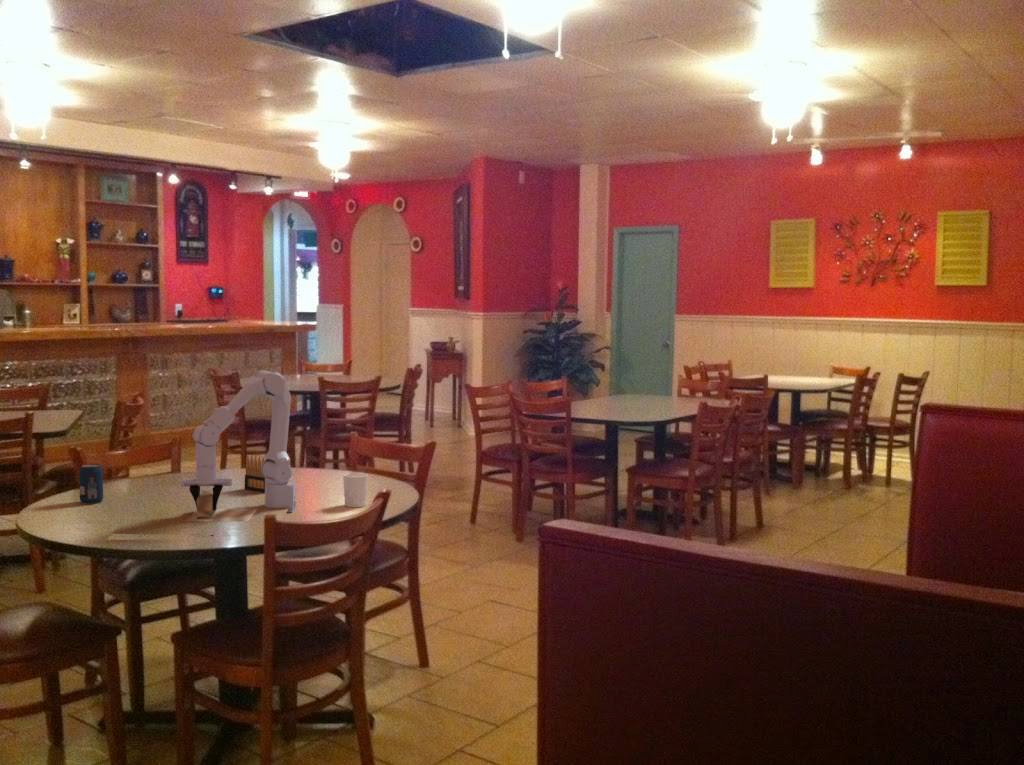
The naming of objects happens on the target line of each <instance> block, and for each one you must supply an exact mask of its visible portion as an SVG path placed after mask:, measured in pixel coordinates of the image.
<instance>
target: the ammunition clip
mask: <svg viewBox="0 0 1024 765" xmlns="http://www.w3.org/2000/svg"><path fill="white" fill-rule="evenodd" d="M264 461H265V456H263V457H262V458H261V456H258V457H257V456H256V455H255V456H253V455H251V456H250V455H249V454H247V456H246V461H245V462H246V464H245V475H244V490H247V491H252V492H259V493H264V494H265V477H264V476H263V474H262V472H261V467H262V465H263V463H264Z"/></svg>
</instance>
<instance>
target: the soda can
mask: <svg viewBox="0 0 1024 765" xmlns="http://www.w3.org/2000/svg"><path fill="white" fill-rule="evenodd" d="M103 472H104V471H103V468H102V467H101V464H100V463H85V464H81V465H80V469H79V473H78V474H79V475H78V476H79V477H78V478H79V481H78V482H79V500H80V502H81V504H83V505H95V504H100V503H102V501H103V499H104V474H103Z"/></svg>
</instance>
